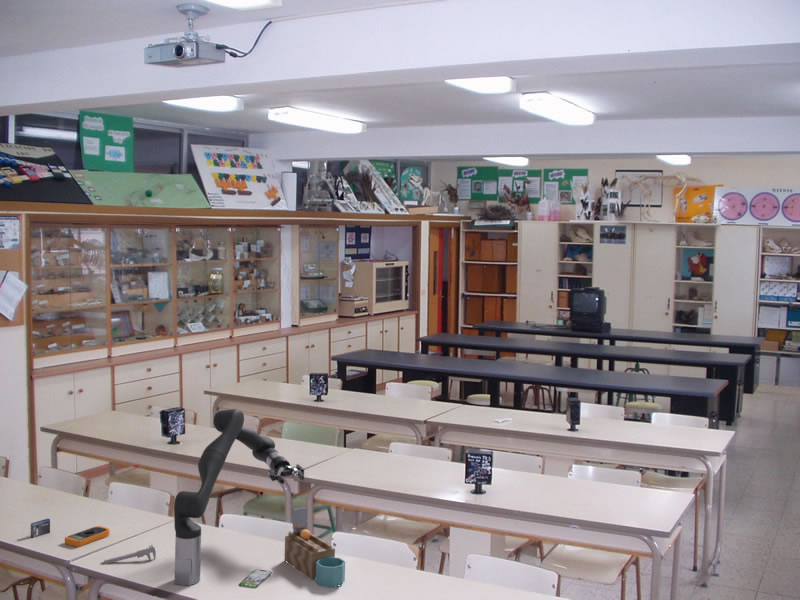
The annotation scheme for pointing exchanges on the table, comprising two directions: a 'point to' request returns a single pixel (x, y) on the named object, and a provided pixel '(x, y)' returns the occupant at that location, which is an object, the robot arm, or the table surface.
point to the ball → (305, 534)
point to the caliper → (133, 555)
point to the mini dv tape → (40, 528)
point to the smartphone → (255, 578)
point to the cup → (330, 571)
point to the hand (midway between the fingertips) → (293, 480)
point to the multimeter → (87, 536)
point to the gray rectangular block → (299, 520)
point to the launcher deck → (306, 552)
